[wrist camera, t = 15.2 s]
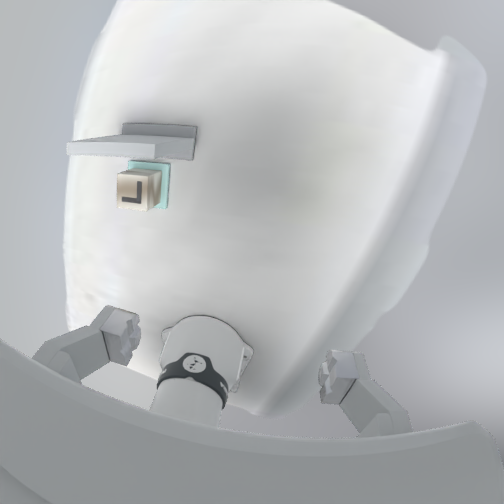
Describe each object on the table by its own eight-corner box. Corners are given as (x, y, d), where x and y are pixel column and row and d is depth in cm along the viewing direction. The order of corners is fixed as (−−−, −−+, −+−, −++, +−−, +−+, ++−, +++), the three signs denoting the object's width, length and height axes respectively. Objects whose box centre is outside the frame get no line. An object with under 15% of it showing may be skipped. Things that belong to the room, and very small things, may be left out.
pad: (166, 208, 42) (165, 209, 41) (128, 202, 42) (127, 203, 41) (170, 164, 39) (168, 164, 38) (130, 160, 39) (128, 161, 38)
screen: (192, 159, 38) (152, 176, 25) (122, 154, 38) (66, 169, 26) (196, 126, 36) (157, 126, 23) (125, 123, 36) (67, 127, 23)
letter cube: (160, 202, 41) (146, 212, 36) (132, 198, 41) (116, 207, 36) (162, 170, 38) (147, 176, 34) (132, 168, 38) (116, 173, 34)
